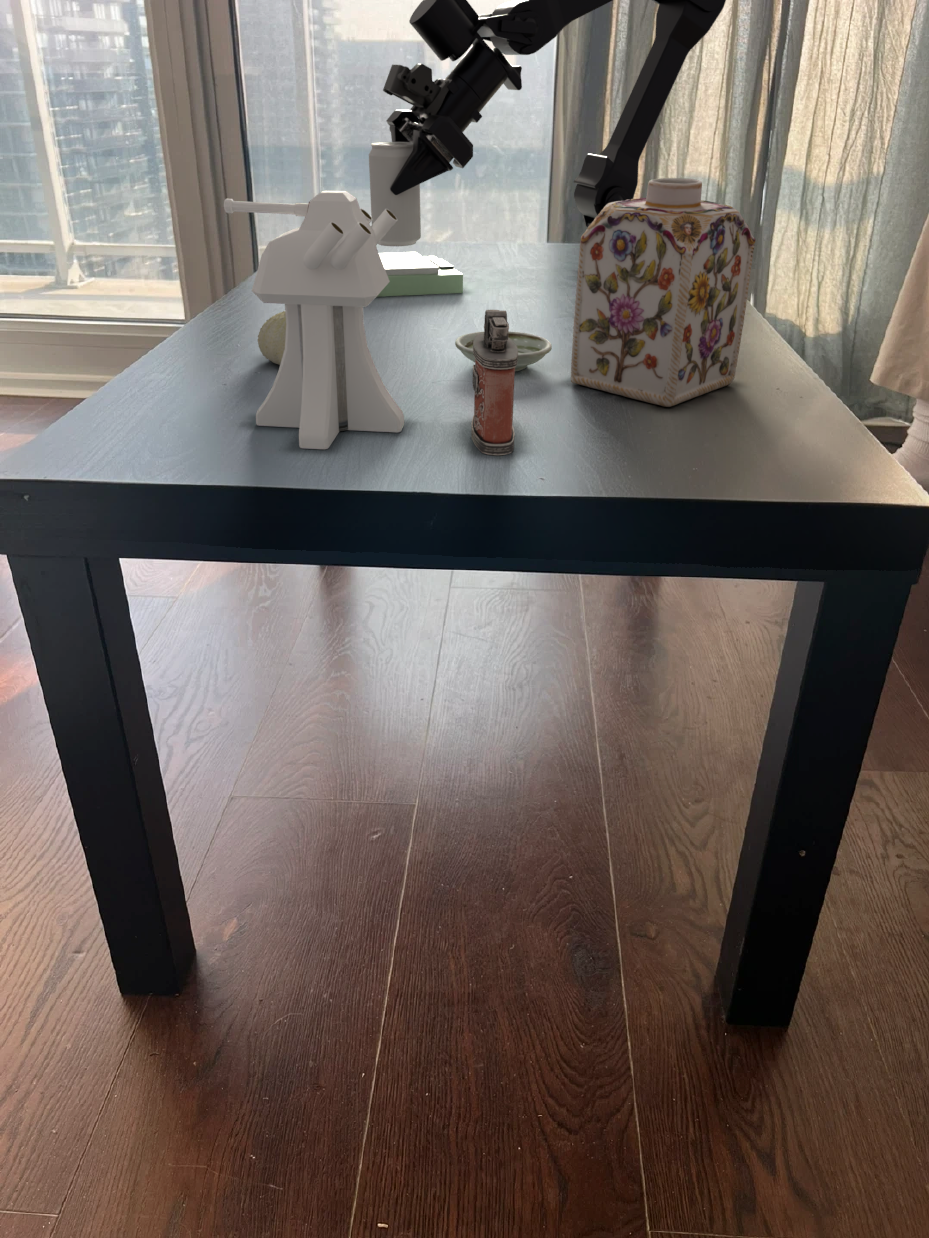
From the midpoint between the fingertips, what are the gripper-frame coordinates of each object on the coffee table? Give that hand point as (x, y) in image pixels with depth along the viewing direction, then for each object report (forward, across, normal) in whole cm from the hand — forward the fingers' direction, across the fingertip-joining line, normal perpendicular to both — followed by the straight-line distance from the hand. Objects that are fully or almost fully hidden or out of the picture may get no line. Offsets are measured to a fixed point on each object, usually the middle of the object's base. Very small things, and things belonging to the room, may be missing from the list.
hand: (385, 189), depth 125 cm
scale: (+8, -2, +9) cm, 12 cm away
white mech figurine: (+24, +53, -6) cm, 58 cm away
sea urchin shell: (+22, +32, -4) cm, 39 cm away
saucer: (+9, +40, +9) cm, 42 cm away
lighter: (+15, +60, +2) cm, 62 cm away
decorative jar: (+1, +50, +17) cm, 53 cm away
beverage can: (+4, 0, +6) cm, 7 cm away
